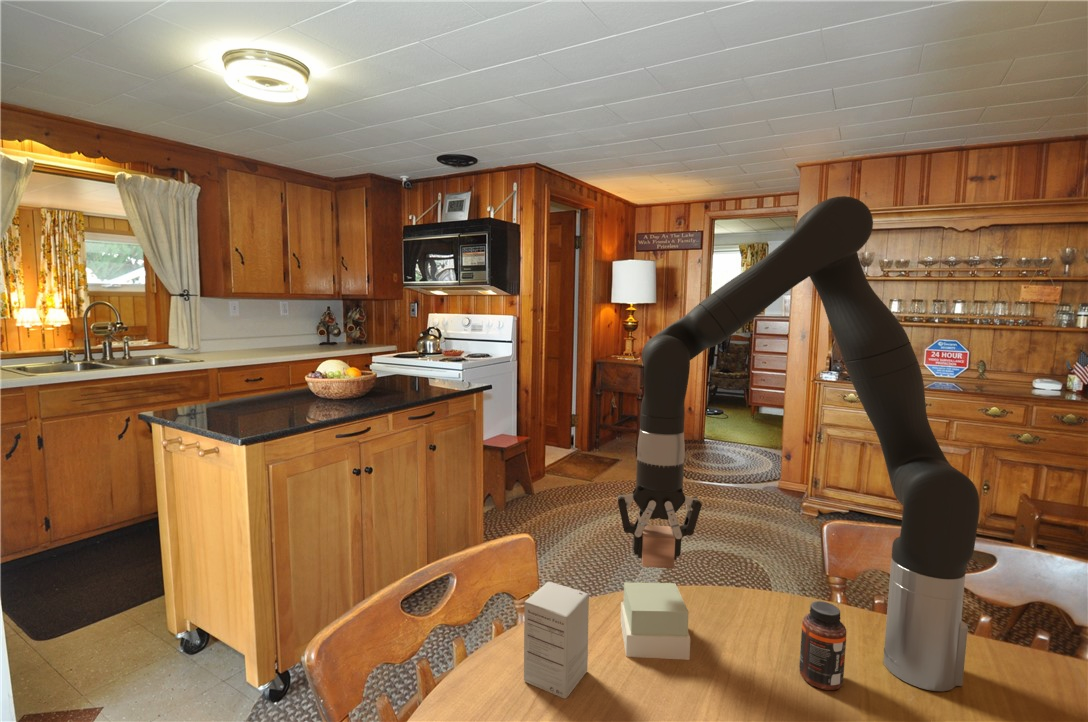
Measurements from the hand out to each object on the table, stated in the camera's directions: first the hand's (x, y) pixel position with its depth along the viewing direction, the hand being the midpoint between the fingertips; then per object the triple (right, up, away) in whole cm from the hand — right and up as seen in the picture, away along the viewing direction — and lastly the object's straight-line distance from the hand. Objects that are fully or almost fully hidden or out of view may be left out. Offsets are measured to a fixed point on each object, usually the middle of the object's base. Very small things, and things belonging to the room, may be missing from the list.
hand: (656, 556), depth 90 cm
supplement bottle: (+23, -16, -8) cm, 29 cm away
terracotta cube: (0, -1, 0) cm, 1 cm away
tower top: (0, -11, +1) cm, 11 cm away
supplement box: (-17, -15, -9) cm, 24 cm away
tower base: (0, -15, +1) cm, 15 cm away
